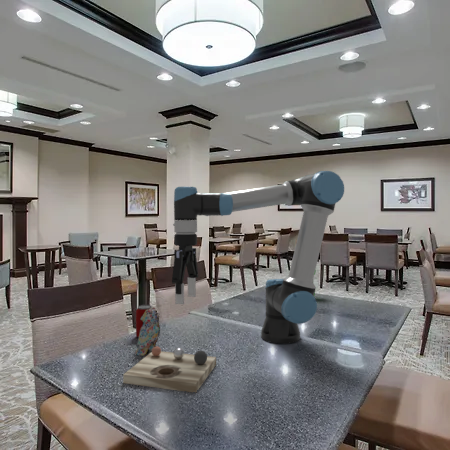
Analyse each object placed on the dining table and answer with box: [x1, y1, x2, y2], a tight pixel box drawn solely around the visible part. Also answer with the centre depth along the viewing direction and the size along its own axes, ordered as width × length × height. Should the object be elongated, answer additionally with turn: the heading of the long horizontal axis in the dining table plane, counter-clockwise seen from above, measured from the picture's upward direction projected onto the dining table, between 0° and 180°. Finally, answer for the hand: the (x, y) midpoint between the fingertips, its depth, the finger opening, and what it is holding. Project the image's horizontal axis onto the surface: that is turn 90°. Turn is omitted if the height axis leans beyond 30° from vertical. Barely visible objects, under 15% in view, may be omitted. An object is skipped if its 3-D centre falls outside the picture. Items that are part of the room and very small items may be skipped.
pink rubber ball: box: [152, 345, 162, 356], centre depth 116 cm, size 3×3×3 cm
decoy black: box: [193, 350, 208, 365], centre depth 109 cm, size 4×4×4 cm
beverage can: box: [135, 304, 153, 338], centre depth 142 cm, size 7×7×12 cm
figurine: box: [135, 306, 161, 357], centre depth 127 cm, size 9×9×15 cm
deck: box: [122, 350, 217, 394], centre depth 108 cm, size 19×22×2 cm
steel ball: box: [173, 347, 185, 359], centre depth 113 cm, size 3×3×3 cm
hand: (185, 300), depth 119 cm, fingers open, 10 cm apart
